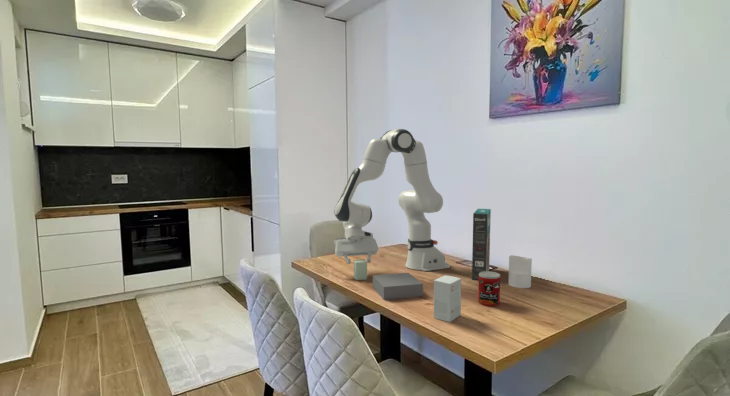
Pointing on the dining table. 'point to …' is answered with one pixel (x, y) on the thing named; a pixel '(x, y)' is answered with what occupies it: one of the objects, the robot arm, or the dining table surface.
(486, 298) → the canned food
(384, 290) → the stand
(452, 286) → the small box
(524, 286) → the base with upright slab
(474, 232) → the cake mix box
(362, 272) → the sage block
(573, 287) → the dining table surface
